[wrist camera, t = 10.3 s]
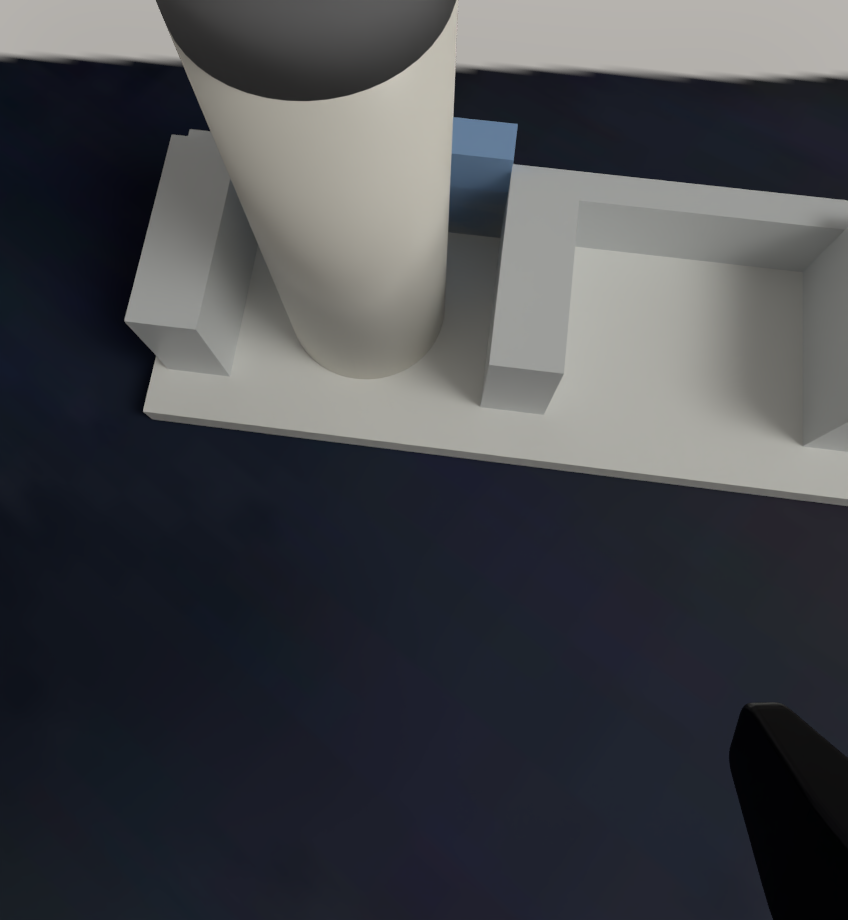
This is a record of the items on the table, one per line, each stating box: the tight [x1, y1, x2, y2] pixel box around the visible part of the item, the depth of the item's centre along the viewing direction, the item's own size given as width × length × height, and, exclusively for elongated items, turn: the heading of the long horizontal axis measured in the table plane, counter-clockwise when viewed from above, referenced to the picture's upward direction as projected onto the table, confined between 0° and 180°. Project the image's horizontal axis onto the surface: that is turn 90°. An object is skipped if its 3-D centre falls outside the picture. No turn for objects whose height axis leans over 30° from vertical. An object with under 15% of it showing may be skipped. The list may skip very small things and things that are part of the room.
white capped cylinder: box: [156, 0, 458, 379], centre depth 17 cm, size 5×5×14 cm
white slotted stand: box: [124, 117, 848, 506], centre depth 22 cm, size 9×23×5 cm, turn 83°
